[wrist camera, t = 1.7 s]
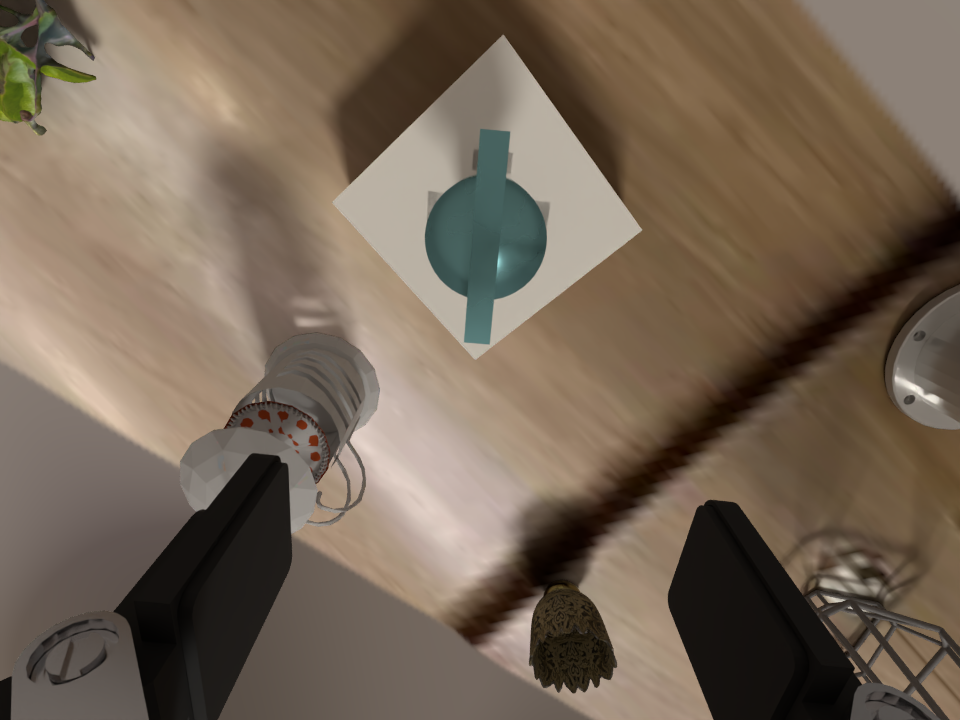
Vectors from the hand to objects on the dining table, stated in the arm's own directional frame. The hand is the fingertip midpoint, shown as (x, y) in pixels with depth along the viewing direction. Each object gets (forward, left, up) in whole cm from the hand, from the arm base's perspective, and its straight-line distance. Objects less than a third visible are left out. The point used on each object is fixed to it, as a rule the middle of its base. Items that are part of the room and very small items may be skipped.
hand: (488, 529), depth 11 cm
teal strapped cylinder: (-3, -3, -29) cm, 29 cm away
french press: (+17, 0, -29) cm, 34 cm away
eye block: (-3, -3, -29) cm, 29 cm away
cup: (+15, +30, -29) cm, 44 cm away
